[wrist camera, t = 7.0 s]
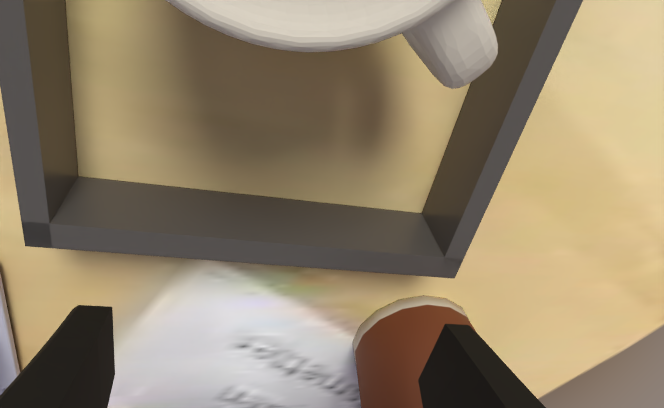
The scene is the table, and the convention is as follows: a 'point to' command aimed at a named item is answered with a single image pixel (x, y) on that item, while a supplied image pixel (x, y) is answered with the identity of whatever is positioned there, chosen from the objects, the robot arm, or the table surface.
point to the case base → (258, 211)
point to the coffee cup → (400, 349)
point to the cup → (362, 28)
